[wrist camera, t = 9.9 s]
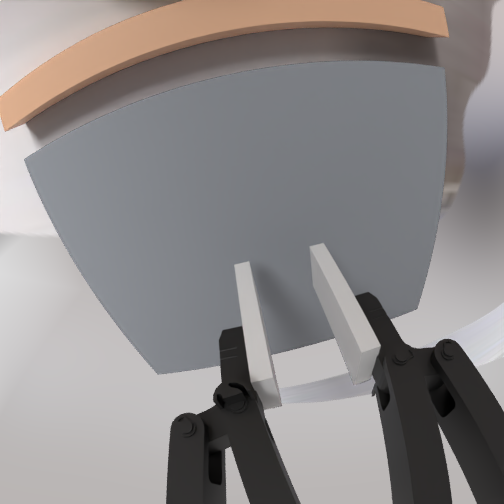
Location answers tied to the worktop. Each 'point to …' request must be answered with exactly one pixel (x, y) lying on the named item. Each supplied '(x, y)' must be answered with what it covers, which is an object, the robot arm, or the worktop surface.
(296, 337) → the board
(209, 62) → the worktop surface
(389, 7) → the strip
